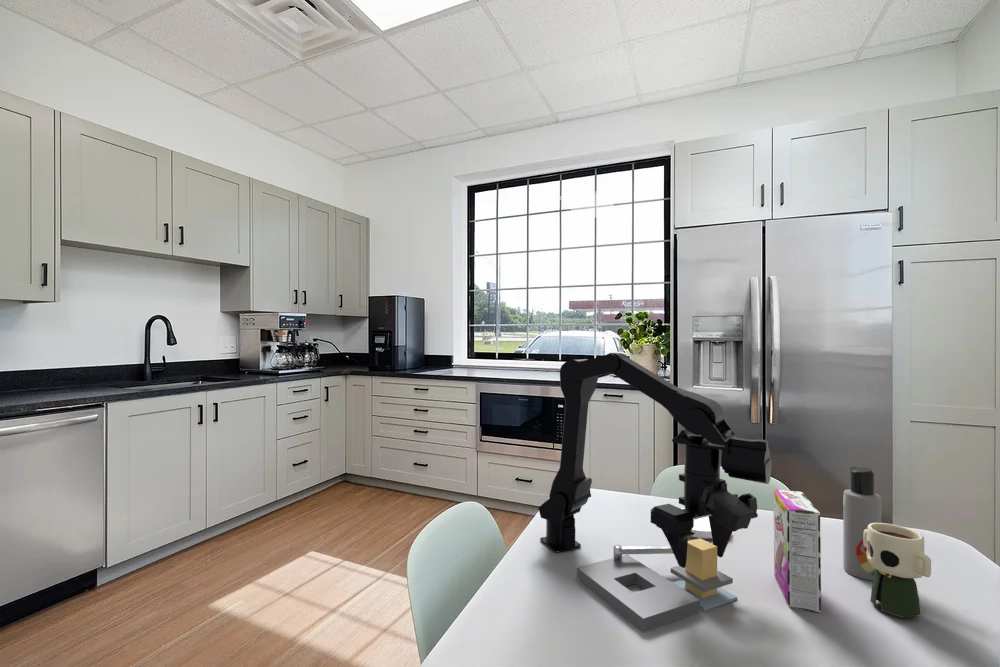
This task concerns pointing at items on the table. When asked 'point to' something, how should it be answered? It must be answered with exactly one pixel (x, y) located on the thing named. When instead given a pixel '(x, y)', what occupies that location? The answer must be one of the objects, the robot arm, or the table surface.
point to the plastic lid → (701, 528)
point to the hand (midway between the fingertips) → (701, 561)
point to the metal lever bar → (640, 550)
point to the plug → (701, 569)
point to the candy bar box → (797, 550)
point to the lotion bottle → (859, 521)
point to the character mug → (896, 567)
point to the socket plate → (643, 607)
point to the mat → (710, 597)
